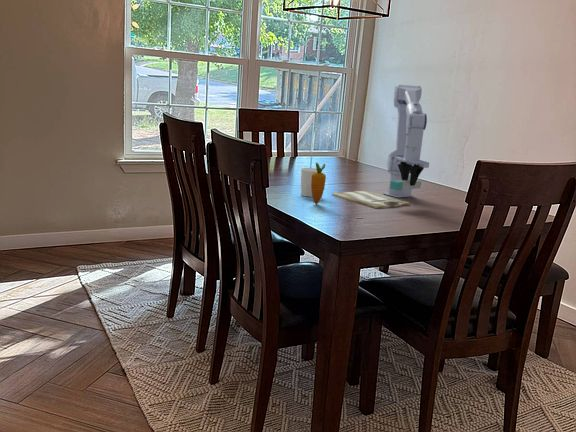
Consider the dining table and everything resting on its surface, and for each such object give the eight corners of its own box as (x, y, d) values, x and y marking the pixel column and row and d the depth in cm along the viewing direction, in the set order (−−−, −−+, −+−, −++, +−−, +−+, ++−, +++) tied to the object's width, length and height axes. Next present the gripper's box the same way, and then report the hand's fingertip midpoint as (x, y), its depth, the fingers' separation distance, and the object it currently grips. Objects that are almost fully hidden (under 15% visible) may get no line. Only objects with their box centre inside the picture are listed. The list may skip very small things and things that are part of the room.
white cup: (302, 197, 200) (304, 170, 197) (296, 192, 207) (298, 167, 205) (322, 197, 202) (324, 171, 200) (315, 193, 209) (318, 168, 207)
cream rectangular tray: (365, 192, 218) (365, 188, 218) (410, 205, 200) (410, 200, 199) (332, 195, 208) (332, 190, 207) (376, 208, 189) (376, 203, 189)
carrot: (322, 203, 192) (326, 162, 188) (324, 206, 187) (327, 164, 183) (308, 202, 191) (312, 161, 188) (309, 205, 186) (313, 163, 183)
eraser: (415, 186, 200) (416, 179, 199) (422, 188, 198) (423, 180, 197) (389, 188, 191) (390, 180, 191) (396, 190, 189) (397, 182, 188)
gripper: (390, 144, 195) (386, 181, 198) (421, 150, 184) (416, 188, 187) (403, 144, 199) (399, 180, 202) (434, 149, 188) (429, 187, 191)
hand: (408, 184), depth 195 cm, fingers closed on eraser, 3 cm apart
